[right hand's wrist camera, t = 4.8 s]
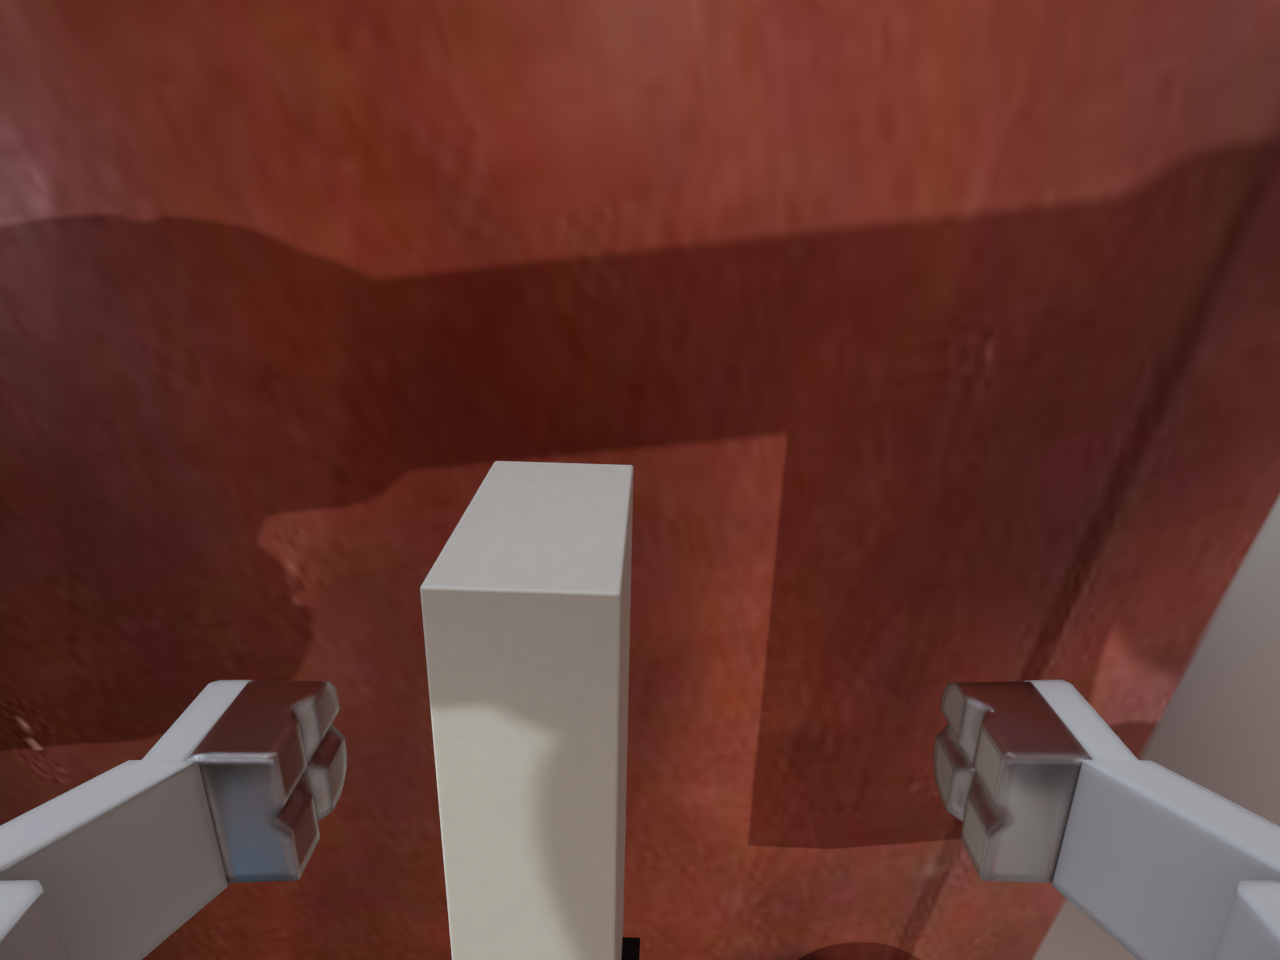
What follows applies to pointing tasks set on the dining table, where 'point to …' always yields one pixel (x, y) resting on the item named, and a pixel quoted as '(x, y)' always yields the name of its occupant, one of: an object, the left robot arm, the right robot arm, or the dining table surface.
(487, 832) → the bar
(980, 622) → the dining table surface
